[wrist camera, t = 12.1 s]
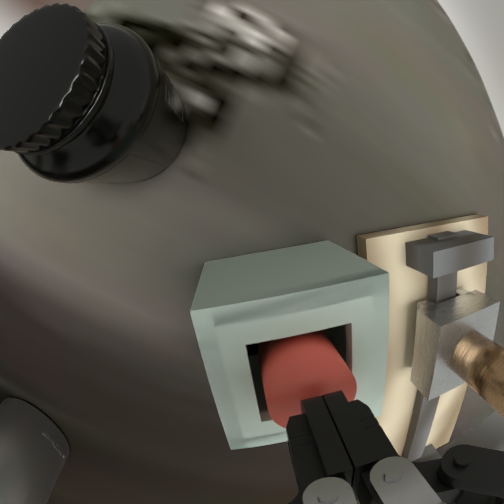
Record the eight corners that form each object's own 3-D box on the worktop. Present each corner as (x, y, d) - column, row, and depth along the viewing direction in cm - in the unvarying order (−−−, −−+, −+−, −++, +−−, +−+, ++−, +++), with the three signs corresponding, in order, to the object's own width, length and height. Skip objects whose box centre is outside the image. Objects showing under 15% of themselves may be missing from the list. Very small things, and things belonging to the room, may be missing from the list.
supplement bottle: (102, 80, 16) (-2, -2, 4) (198, 86, 17) (164, -38, 5) (80, 178, 17) (-59, 178, 5) (176, 191, 18) (91, 195, 6)
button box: (228, 368, 20) (231, 449, 13) (204, 261, 19) (189, 310, 11) (343, 345, 21) (390, 411, 13) (336, 238, 19) (400, 270, 11)
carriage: (403, 374, 20) (473, 453, 10) (409, 304, 18) (506, 374, 9) (459, 350, 20) (531, 409, 10) (467, 285, 19) (559, 332, 9)
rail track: (352, 471, 25) (366, 502, 20) (356, 235, 19) (390, 248, 15) (442, 435, 25) (460, 458, 21) (476, 214, 20) (515, 221, 15)
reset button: (263, 385, 15) (273, 438, 11) (252, 326, 14) (261, 373, 10) (329, 371, 15) (355, 418, 11) (325, 311, 14) (357, 352, 10)
